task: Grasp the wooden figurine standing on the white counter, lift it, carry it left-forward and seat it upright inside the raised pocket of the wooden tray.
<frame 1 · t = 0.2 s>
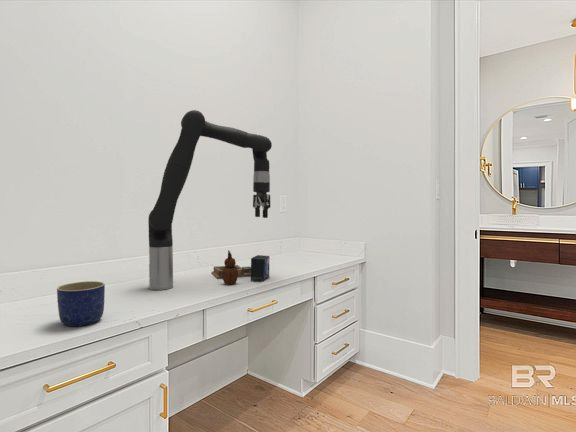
hand: (261, 217, 171), 28 cm above the worktop, fingers open, 8 cm apart
wooden figurine: (230, 284, 162), on the worktop
wooden tray: (234, 274, 182), on the worktop
small box: (260, 279, 172), on the worktop
planter: (82, 322, 111), on the worktop
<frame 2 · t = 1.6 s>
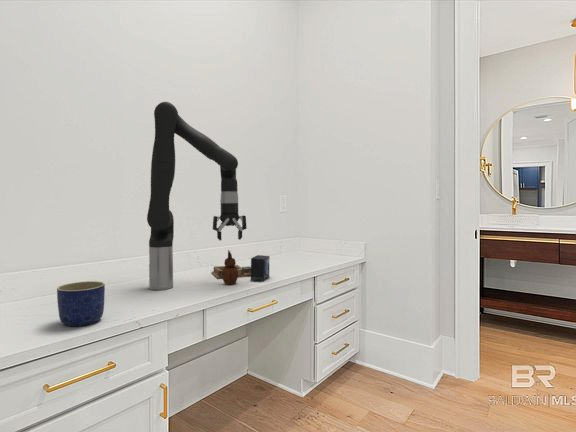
hand: (229, 239, 161), 19 cm above the worktop, fingers open, 8 cm apart
nothing on the worktop moved.
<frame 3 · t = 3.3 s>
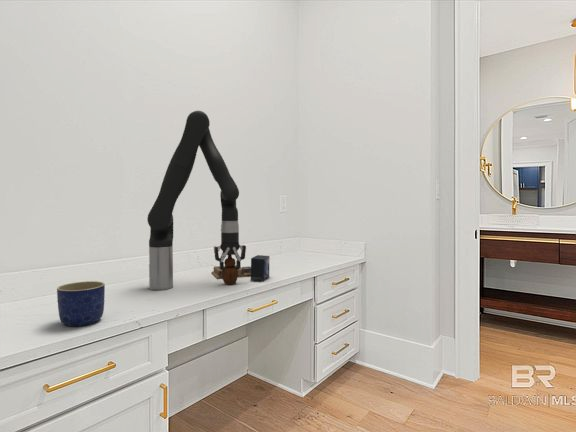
hand: (230, 269, 162), 6 cm above the worktop, fingers closed on wooden figurine, 6 cm apart
wooden figurine: (230, 284, 162), on the worktop, touching gripper
everything else where it was.
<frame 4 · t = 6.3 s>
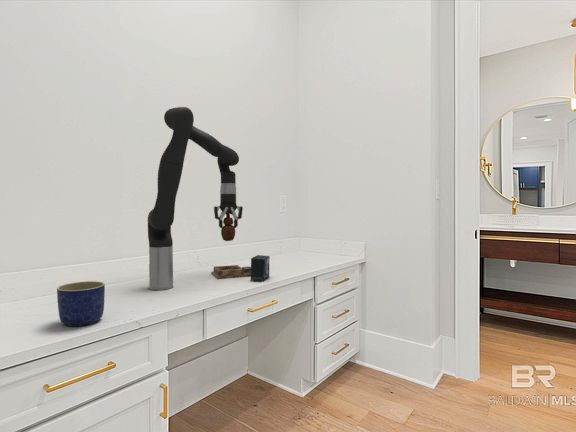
hand: (228, 227, 180), 23 cm above the worktop, fingers closed on wooden figurine, 6 cm apart
wooden figurine: (228, 241, 180), point 17 cm above the worktop, touching gripper
everything else where it was.
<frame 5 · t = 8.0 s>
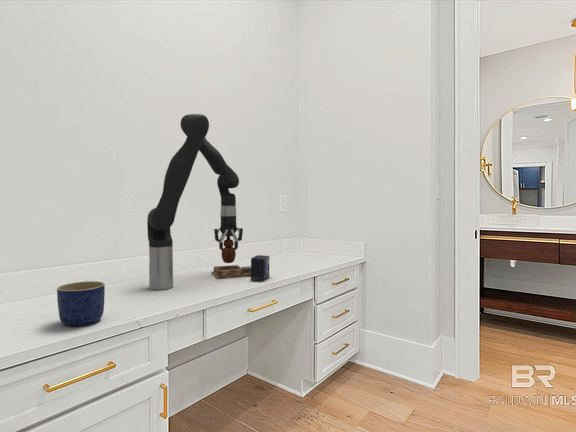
hand: (228, 249, 181), 12 cm above the worktop, fingers closed on wooden figurine, 6 cm apart
wooden figurine: (228, 262, 181), point 6 cm above the worktop, touching gripper
everything else where it was.
when the fingers open (8 cm above the worktop, at t = 9.4 s): wooden figurine drops 1 cm, resting on wooden tray.
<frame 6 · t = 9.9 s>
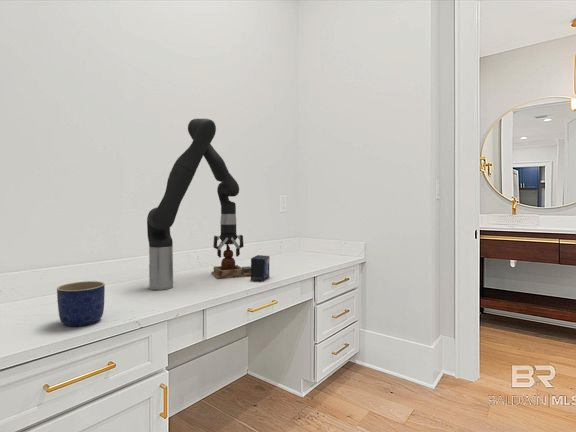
hand: (228, 256, 181), 9 cm above the worktop, fingers open, 8 cm apart
wooden figurine: (228, 273, 181), point 1 cm above the worktop, touching wooden tray
everything else where it was.
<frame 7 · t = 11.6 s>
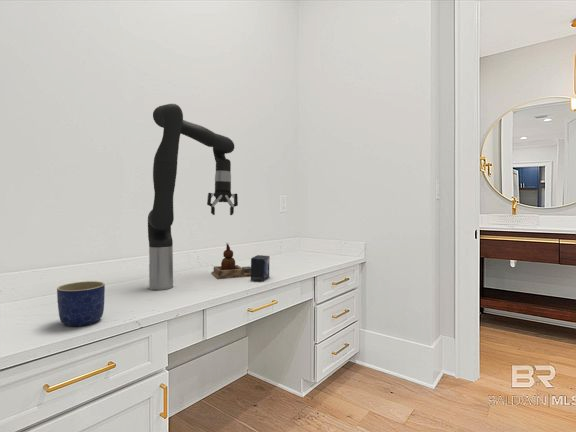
hand: (222, 215, 179), 29 cm above the worktop, fingers open, 8 cm apart
nothing on the worktop moved.
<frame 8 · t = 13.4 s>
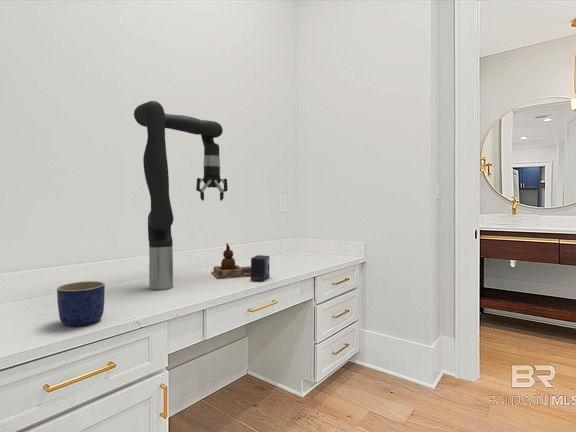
hand: (212, 200, 176), 36 cm above the worktop, fingers open, 8 cm apart
nothing on the worktop moved.
at the end: wooden figurine inside the target area on the wooden tray (0.2 cm from its centre), point 0.8 cm above the wooden tray's base; wooden figurine tilted 0°; the gripper is holding nothing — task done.
